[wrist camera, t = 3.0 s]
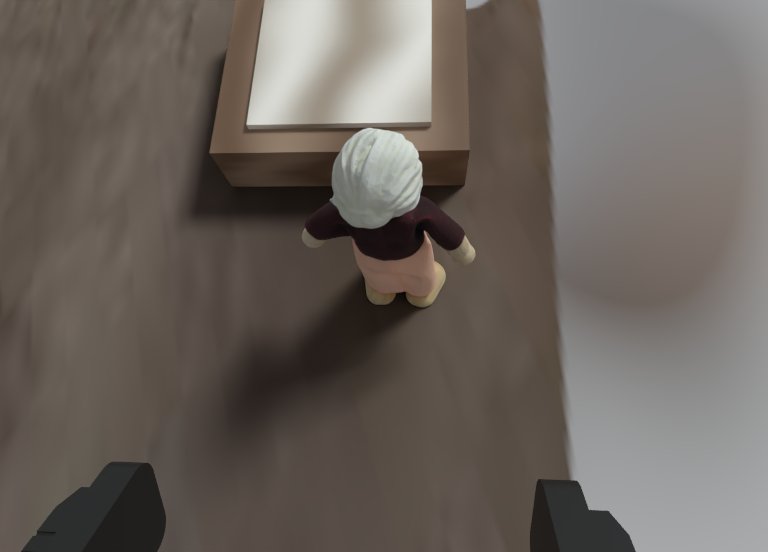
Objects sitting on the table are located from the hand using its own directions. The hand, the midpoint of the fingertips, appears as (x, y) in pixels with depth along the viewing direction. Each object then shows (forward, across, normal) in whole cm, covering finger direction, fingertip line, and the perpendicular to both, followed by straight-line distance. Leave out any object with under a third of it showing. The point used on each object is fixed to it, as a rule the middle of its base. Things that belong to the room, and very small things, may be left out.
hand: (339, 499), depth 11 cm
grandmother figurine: (+18, 0, +4) cm, 19 cm away
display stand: (+27, +3, -5) cm, 27 cm away
